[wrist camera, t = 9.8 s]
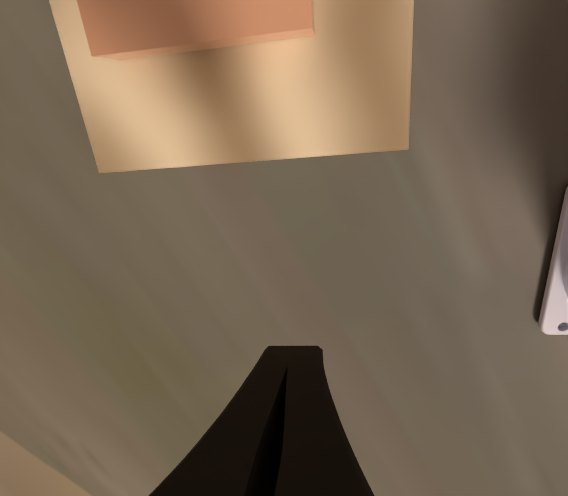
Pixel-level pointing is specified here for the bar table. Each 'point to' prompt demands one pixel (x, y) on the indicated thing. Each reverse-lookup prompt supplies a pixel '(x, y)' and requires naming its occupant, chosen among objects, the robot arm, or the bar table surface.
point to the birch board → (250, 92)
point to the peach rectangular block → (189, 25)
